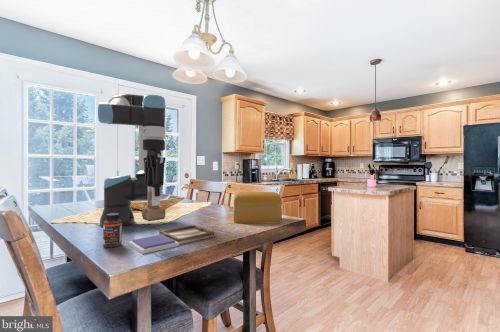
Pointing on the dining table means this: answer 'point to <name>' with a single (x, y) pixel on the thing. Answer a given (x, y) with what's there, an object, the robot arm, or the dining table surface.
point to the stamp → (153, 211)
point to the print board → (187, 234)
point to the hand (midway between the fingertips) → (153, 204)
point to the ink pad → (152, 243)
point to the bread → (257, 207)
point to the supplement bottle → (112, 231)
